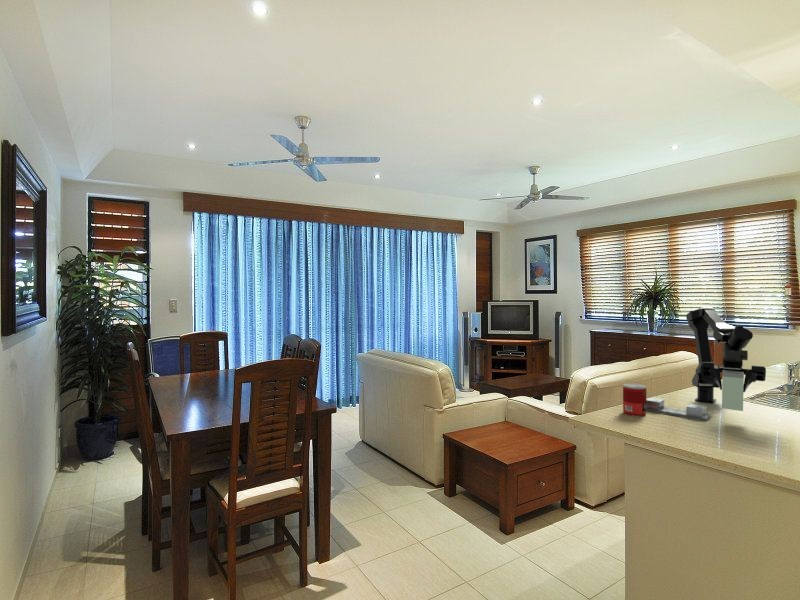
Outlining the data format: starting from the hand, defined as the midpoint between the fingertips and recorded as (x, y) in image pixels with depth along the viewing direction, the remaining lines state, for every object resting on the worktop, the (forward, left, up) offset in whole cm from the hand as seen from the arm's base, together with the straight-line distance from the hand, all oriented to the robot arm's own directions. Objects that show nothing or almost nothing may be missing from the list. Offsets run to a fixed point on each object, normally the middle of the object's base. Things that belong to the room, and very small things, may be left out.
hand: (732, 390), depth 158 cm
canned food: (+10, -29, -12) cm, 33 cm away
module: (-1, 0, -7) cm, 7 cm away
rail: (-1, -18, -12) cm, 22 cm away
